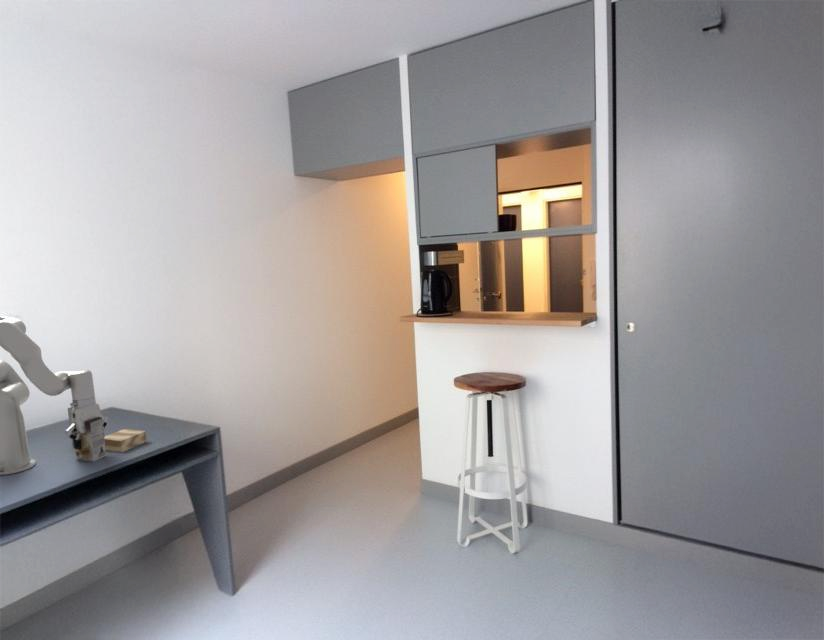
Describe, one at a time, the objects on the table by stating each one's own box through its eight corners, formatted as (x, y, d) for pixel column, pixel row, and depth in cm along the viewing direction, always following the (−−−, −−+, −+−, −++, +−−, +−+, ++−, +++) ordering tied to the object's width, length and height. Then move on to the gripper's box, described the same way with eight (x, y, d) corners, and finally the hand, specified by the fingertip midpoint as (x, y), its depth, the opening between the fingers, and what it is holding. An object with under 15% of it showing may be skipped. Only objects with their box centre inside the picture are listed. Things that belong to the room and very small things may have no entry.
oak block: (122, 453, 214) (120, 441, 213) (101, 450, 218) (99, 438, 217) (146, 442, 225) (145, 431, 224) (126, 439, 229) (124, 428, 229)
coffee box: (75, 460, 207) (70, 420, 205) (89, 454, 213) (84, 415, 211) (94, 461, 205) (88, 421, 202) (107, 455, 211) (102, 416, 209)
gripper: (69, 409, 196) (75, 453, 199) (111, 396, 212) (116, 437, 215) (55, 408, 199) (61, 451, 202) (97, 395, 215) (102, 436, 217)
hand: (89, 444), depth 208 cm, fingers open, 9 cm apart
